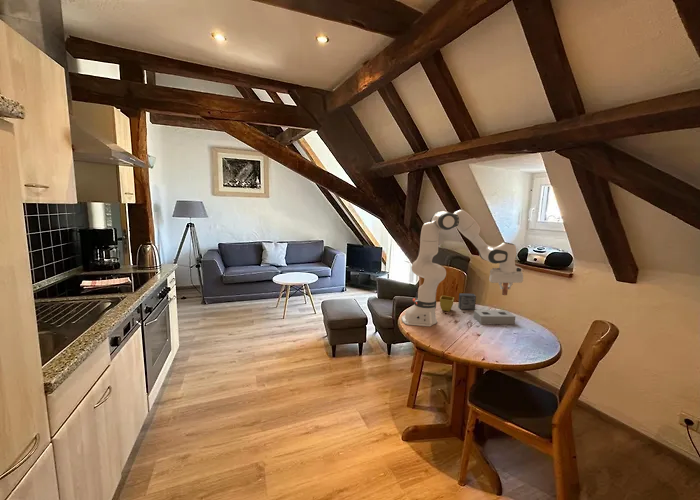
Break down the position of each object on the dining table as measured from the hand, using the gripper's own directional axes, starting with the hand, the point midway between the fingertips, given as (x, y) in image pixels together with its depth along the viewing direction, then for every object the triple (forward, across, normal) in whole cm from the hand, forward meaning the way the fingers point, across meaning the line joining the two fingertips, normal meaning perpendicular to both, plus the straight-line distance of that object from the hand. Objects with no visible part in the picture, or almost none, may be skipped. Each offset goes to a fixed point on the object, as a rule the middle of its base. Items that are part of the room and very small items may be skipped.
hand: (505, 289), depth 200 cm
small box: (+22, -14, +24) cm, 36 cm away
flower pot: (+22, -30, +20) cm, 42 cm away
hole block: (+22, -5, +2) cm, 22 cm away
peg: (+4, 0, 0) cm, 4 cm away
